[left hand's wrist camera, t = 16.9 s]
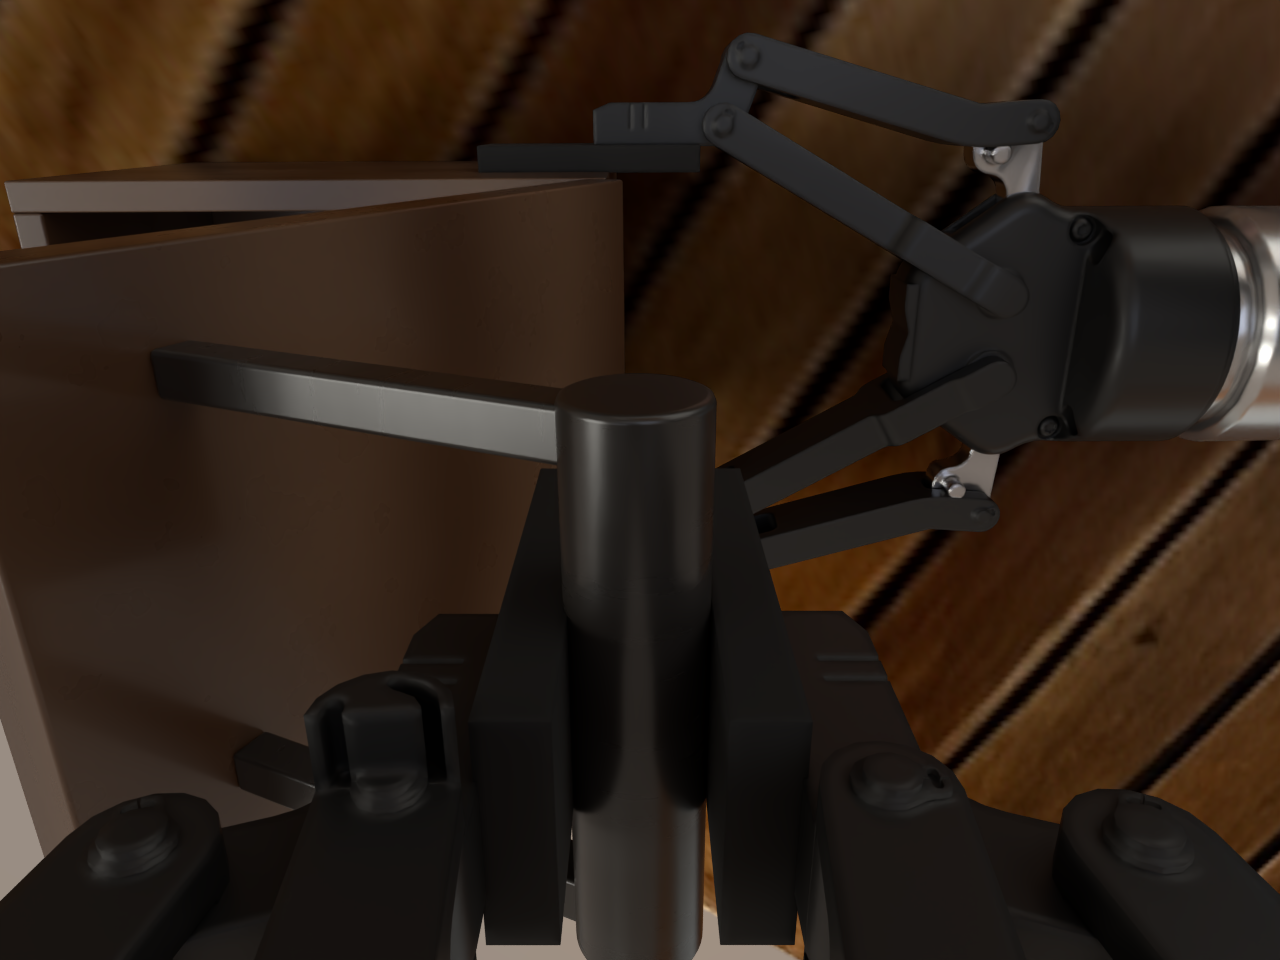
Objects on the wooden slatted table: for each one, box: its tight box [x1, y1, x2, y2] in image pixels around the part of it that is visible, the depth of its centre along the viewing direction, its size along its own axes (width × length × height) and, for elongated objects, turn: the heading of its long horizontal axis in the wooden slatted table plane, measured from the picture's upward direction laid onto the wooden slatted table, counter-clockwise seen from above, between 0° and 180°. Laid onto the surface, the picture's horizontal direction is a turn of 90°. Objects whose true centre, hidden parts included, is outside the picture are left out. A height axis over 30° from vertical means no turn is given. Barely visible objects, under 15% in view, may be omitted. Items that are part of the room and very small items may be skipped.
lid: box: [0, 179, 717, 960], centre depth 17 cm, size 17×10×9 cm
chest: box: [4, 161, 617, 249], centre depth 31 cm, size 16×10×11 cm, turn 90°
